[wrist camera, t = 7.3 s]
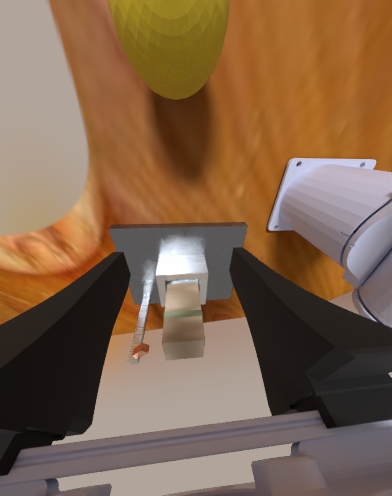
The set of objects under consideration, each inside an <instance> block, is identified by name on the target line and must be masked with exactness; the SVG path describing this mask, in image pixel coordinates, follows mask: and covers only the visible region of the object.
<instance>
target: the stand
mask: <svg viewBox="0 0 392 496" xmlns="http://www.w3.org/2000/svg"><path fill="white" fill-rule="evenodd" d="M247 227H248V226H247V224H246V223H245V222H234V223H183V224H131V225H111V227H110V228H109V231H110V234H111V237H112V240H113V243H114V246H115V248H116V251H117V252H124V255H125V258H126V261H127V264H128V268H129V271H130V274H131V277H130V282H129V288H130V291H131V294H132V297H133V300H134V303H135V305H140V304H141V309H140V313H139V317H138V321H137V325H136V330H135V334H134V338H133V342H132V347H131V351H130V355H129V359H128V362H129V363H130V364H137V363H139V359H140V357H142V356H144V355H145V354H147V353H148V351H149V345H147V344H144V343H143V338H144V333H145V327H146V322H147V317H148V311H149V306H150V304H156V303H161V307H165V304H166V293H167V284H179V283H198V288H199V296H200V304H201V305H202V304H205V303H206V300H219V299H230V297H231V293H232V289H233V283H232V280H231V276H230V272H229V268H230V262H231V257H232V252H233V248H235V247H243V243H244V239H245V235H246V231H247Z"/></svg>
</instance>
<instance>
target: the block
mask: <svg viewBox="0 0 392 496" xmlns="http://www.w3.org/2000/svg"><path fill="white" fill-rule="evenodd" d="M202 316H203V315H202V310H201V304H200V296H199V288H198V283H179V284H167V293H166V304H165V312H164V326H163V338H162V346H163V350H164V354H165V358H166V360H175V359H186V358H197V357H203V353H204V344H205V336H204V328H203V320H202Z"/></svg>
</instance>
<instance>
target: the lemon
mask: <svg viewBox="0 0 392 496" xmlns="http://www.w3.org/2000/svg"><path fill="white" fill-rule="evenodd" d="M108 5H109V9H110V12H111V16H112V19H113V22H114V26H115V29H116V32H117V36H118V38H119V41H120V43H121V45H122V47H123V50H124V52H125V54H126V56H127V58H128V60H129V62H130V64H131V66H132V67H133V68H134V70H135V71H136V73H137V74H138V76H139V77H140V78H141V80H142V81H143V82H144V83H145V84H146V85H147V86H148V87H149V88H150V89H152V90H153V91H154V92H155V93H157V94H159V95H161V96H163V97H164V98H169V99H174V100H178V99H185V98H187V97H189V96H191V95H193V94H195V93H197V92H198V91H199V90H200V89H201V88H202V87H203V86H204V85H205V84H206V82H207V81H208V79H209V77H210V76H211V74H212V72H213V71H214V69H215V67H216V64H217V61H218V59H219V56H220V53H221V50H222V48H223V43H224V38H225V33H226V27H227V22H228V15H229V0H108Z"/></svg>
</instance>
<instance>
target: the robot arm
mask: <svg viewBox="0 0 392 496" xmlns="http://www.w3.org/2000/svg"><path fill="white" fill-rule="evenodd" d="M298 162H299V165H298V166H296V165H297V163H298ZM360 165H361V166H360ZM375 165H376V160H372V159H318V158H292V159H291V160H290V161H289V162H288V164H287V167H286V170H285V173H284V176H283V180H282V183H281V186H280V189H279V192H278V195H277V198H276V201H275V204H274V207H273V210H272V214H271V217H270V220H269V223H268V226H267V228H268V230H270V231H282V230H294V231H296V232H297V233H298V234H300V235H301V236H302V237H303V238H305V239H306V240H307V241H309V242H310V243H311V244H313V245H314V246H315V247H317V248H318V249H319V250H321V251H322V252H323V253H324V254H326V255H327V256H328V257H330V258H331V259H332V260H334V261H335V262H336V263H338V264H339V265H340V266H341V267H343V268H344V269H345V273H344V275H343V278H344V279H345V280H346V281H347V282H348V283H350V284H351V285H352V286H353V287H354V290H353V293H352V300H353V303H354V305H355V308H356V309H357V311H358V312H359V314H360V315H358V314H355V313H353V312H351V311H348V310H346V309H344V308H341V307H339V306H337V305H334V304H332V303H330V302H328V301H326V300H324V299H322V298H320V297H318V296H316V295H314V294H312V293H310V292H308V291H306V290H304V289H302V288H301V287H299V286H297V285H295V284H294V283H292V282H290V281H289V280H287V279H285V278H284V277H282V276H281V275H279V274H278V273H276V272H275V271H273V270H272V269H270V268H269V267H268V266H266V265H265V264H264V263H262V262H261V261H260V260H258V259H257V258H256V257H254V256H253V255H252V254H251V253H249V252H248V251H247V250H245V249H244V248H243V247H235V248H233V252H232V257H231V262H230V268H229V272H230V276H231V280H232V283H233V286H234V288H235V291H236V293H237V296H238V298H239V301H240V303H241V305H242V308H243V310H244V313H245V316H246V318H247V322H248V325H249V328H250V332H251V335H252V338H253V342H254V346H255V350H256V353H257V357H258V361H259V365H260V369H261V373H262V378H263V382H264V387H265V391H266V396H267V400H268V405H269V408H270V411H271V414H272V416H270V417H263V418H255V419H248V420H240V421H232V422H226V423H217V424H209V425H202V426H194V427H187V428H179V429H172V430H164V431H157V432H149V433H142V434H134V435H127V436H120V437H111V438H104V439H96V440H89V441H81V442H74V443H66V444H59V445H51V444H52V442H53V441H58V440H63V439H64V438H65V436H72V435H79V434H83V433H84V432H85V431H86V430H87V429H88V428H89V427H90V425H91V424H92V421H93V415H94V409H95V404H96V399H97V393H98V388H99V384H100V379H101V375H102V370H103V365H104V361H105V357H106V353H107V349H108V345H109V341H110V338H111V334H112V330H113V327H114V324H115V321H116V319H117V316H118V314H119V311H120V308H121V306H122V303H123V300H124V298H125V295H126V292H127V290H128V286H129V282H130V277H131V274H130V271H129V268H128V264H127V261H126V258H125V255H124V252H113V253H112V254H110V255H109V256H107V257H106V258H105V259H103V260H102V261H101V262H100V263H98V264H97V265H96V266H94V267H93V268H92V269H90V270H89V271H88V272H87V273H85V274H84V275H82V276H81V277H80V278H78V279H77V280H75V281H74V282H73V283H71V284H70V285H68V286H67V287H65V288H64V289H62V290H61V291H59V292H58V293H56V294H55V295H53V296H51V297H50V298H48V299H47V300H45V301H43V302H42V303H40V304H38V305H36V306H35V307H33V308H31V309H29V310H27V311H26V312H24V313H22V314H20V315H18V316H16V317H15V318H13V319H11V320H9V321H7V322H5V323H3V324H1V325H0V496H110V492H111V484H103V485H95V486H88V487H83V488H77V489H72V490H67V491H62V492H61V491H59V488H58V486H59V485H58V481H57V479H55V478H61V477H68V476H74V475H82V474H88V473H95V472H102V471H108V470H114V469H122V468H129V467H135V466H142V465H148V464H155V463H162V462H168V461H176V460H182V459H189V458H196V457H202V456H209V455H216V454H222V453H229V452H236V451H243V450H249V449H256V448H263V447H269V446H276V445H283V444H289V443H293V444H292V446H291V455H290V456H285V457H277V458H269V459H264V460H258V461H253V462H252V464H251V466H252V471H253V475H254V480H255V482H252V483H244V484H236V485H229V486H221V487H213V488H207V489H199V490H192V491H186V492H180V493H175V494H169V495H164V496H392V378H391V377H390V375H389V374H388V373H390V372H392V172H386V171H379V170H373V168H374V166H375ZM275 226H276V227H275ZM274 227H275V228H274Z"/></svg>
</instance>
